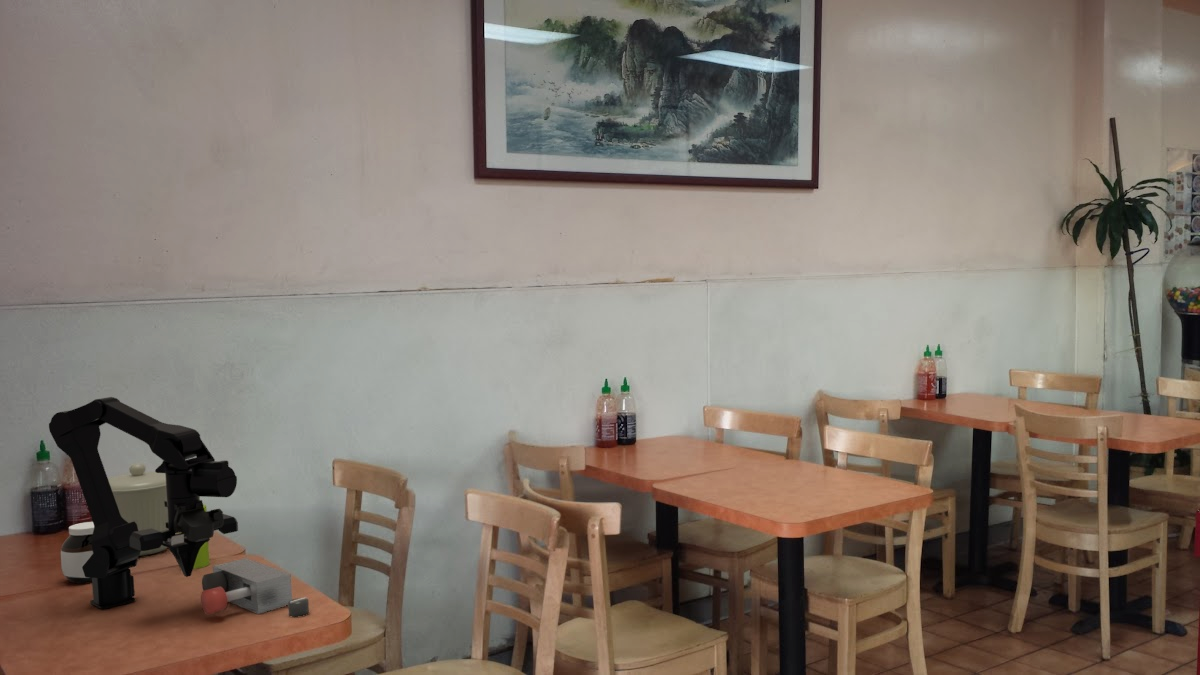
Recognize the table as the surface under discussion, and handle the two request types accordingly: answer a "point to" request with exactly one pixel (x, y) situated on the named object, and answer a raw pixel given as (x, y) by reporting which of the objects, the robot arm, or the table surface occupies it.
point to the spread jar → (77, 552)
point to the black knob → (214, 581)
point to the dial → (298, 607)
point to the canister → (142, 499)
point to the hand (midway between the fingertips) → (187, 576)
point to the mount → (257, 584)
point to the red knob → (221, 598)
